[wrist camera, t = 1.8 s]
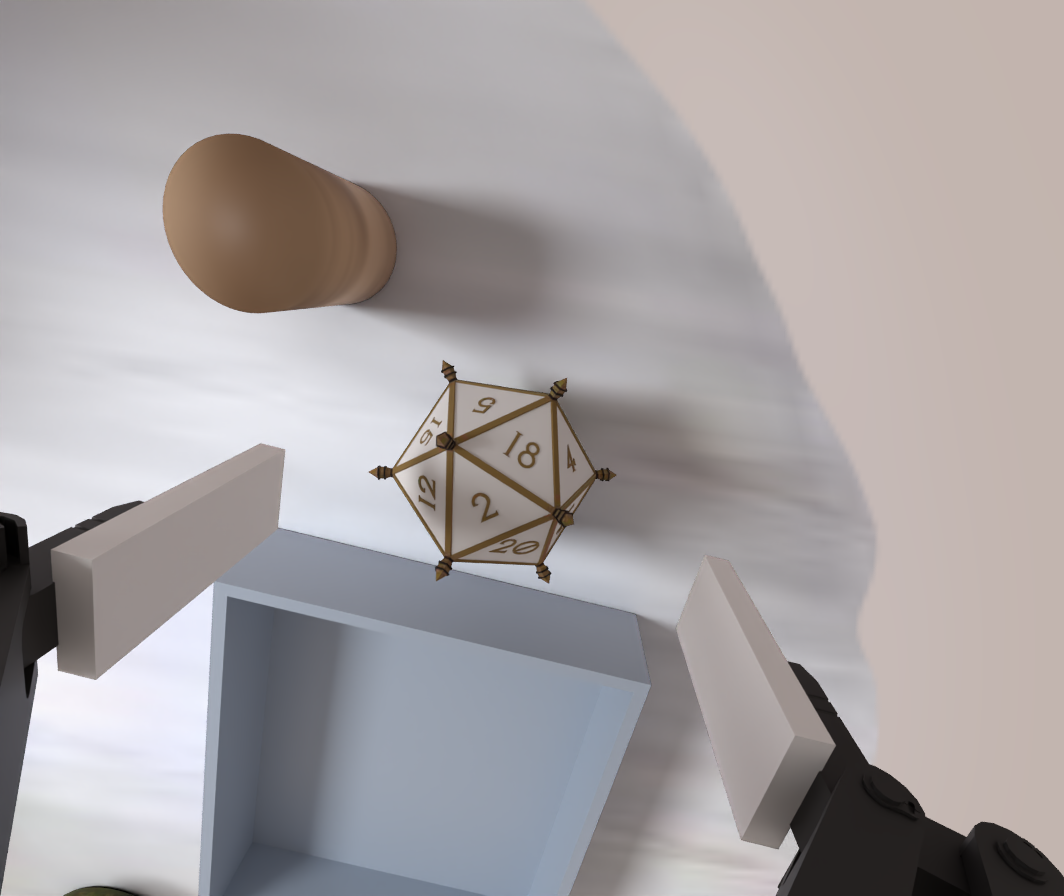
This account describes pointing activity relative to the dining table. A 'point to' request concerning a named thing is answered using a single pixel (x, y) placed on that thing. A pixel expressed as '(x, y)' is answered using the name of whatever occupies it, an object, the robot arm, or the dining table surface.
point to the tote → (406, 727)
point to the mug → (97, 892)
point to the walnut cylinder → (273, 228)
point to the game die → (494, 474)
